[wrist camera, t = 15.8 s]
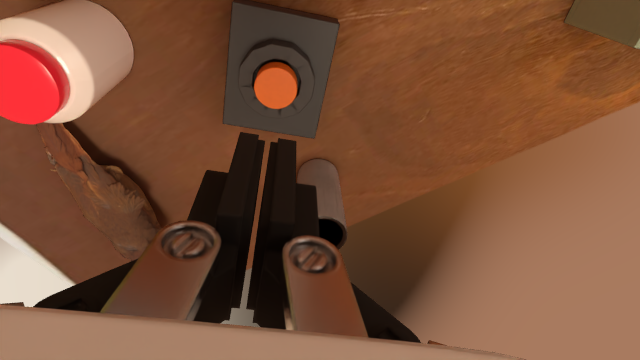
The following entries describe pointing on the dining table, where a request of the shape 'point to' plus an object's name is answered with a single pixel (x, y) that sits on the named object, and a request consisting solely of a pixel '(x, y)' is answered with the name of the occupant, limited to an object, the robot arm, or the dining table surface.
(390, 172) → the dining table surface
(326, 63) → the control box
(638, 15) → the cabinet
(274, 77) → the button
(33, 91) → the pill bottle
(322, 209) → the gray hollow cylinder
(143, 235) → the bird sculpture
